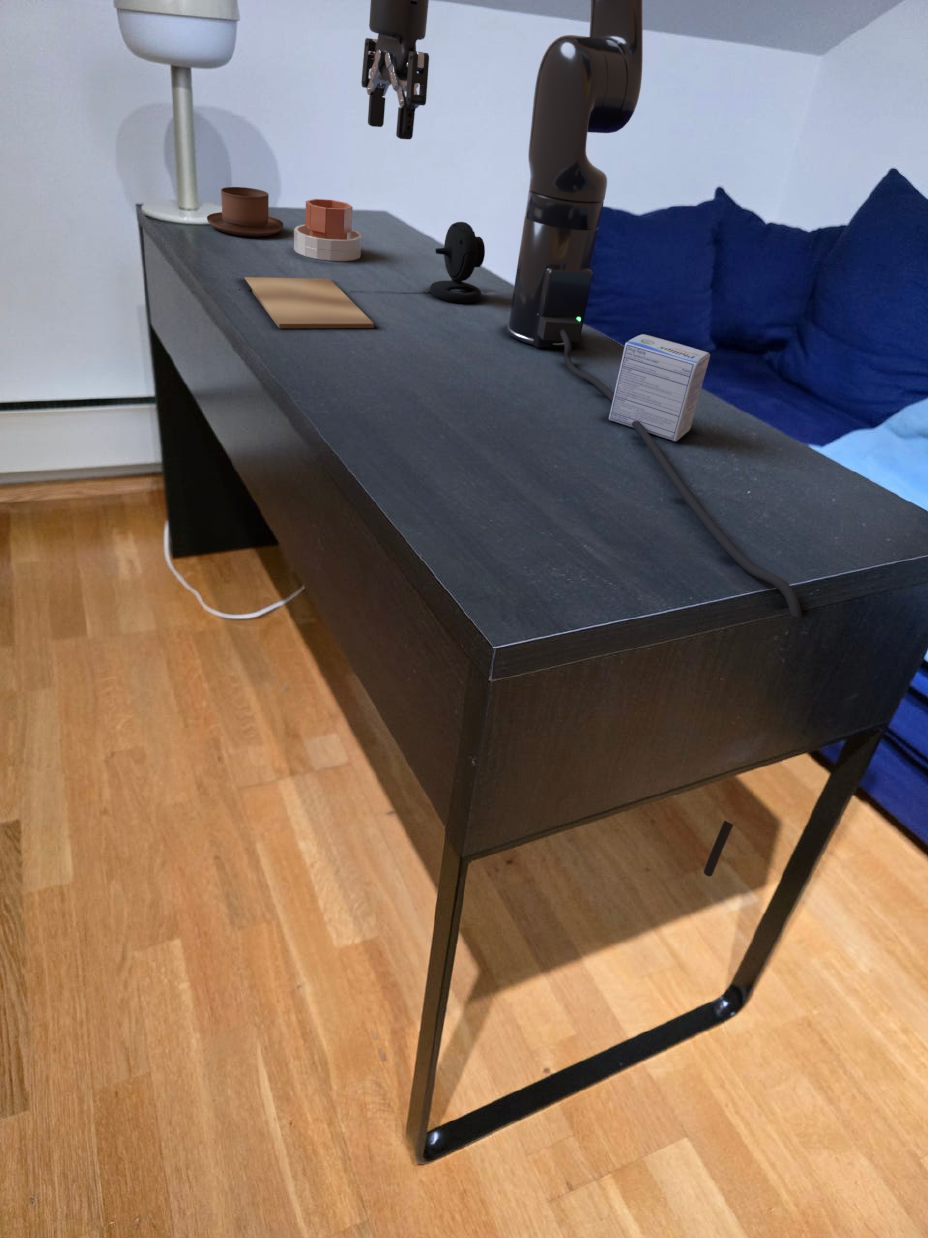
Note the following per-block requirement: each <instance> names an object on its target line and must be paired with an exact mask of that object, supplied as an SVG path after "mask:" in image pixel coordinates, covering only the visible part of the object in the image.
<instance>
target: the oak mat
mask: <svg viewBox="0 0 928 1238" xmlns="http://www.w3.org/2000/svg"><path fill="white" fill-rule="evenodd" d="M244 279H245V281H246V282H247V284H248V285H249V286H250V291H251V292H252V294H253V295H254V296H255V297H256V299H257V301H259V304H260V305H261V306H262V307H263V309H264V310H265V311H266V313H267V314H268V316H270V318H271V319H272V320H273V322H274V324H275V325H276V326H277V327H278V329H281V330H282V329H374V328H375V323H374V322H373V321H372V320H371V318H369V317H368V316H367V315H366V314H365V312H363V311H362V309H361V308H359V306H357V305H356V304H355V302H353V301H352V300H351V298H350V297H349V296H347V295H346V293H345V292H344V291H342V290H341V289H340V287H339V286H337V284H336V283H334V281H332V279H331V278H323V277H322V278H320V277H319V278H317V277H316V278H314V277H262V276H261V277H259V276H257V277H256V276H254V277H253V276H245V277H244Z"/></svg>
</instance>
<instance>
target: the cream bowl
mask: <svg viewBox="0 0 928 1238" xmlns="http://www.w3.org/2000/svg"><path fill="white" fill-rule="evenodd" d="M309 232H310V229H308V228H307V227H306V226H305V224H299V225H297V226H295V228H293V251H294V252H295V253H296V254H298V255H301V256H303V257H306V258H311V259H314V260H318V261H319V260H321V261H327V262H349V261H355V260H358V259H360V258H361V256H362V241H363V235H362V234H361V232H359V231H357V230H354V229H352V231H351V232H348V233H347V240H334V239H324V238H317V237H313V236H309Z"/></svg>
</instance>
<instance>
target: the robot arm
mask: <svg viewBox="0 0 928 1238" xmlns="http://www.w3.org/2000/svg"><path fill="white" fill-rule="evenodd" d="M429 2H430V0H370V7H369V24H368V27H369V30H370V32H372V33H375V34H378V35H377V38H371V37H366V38H365V39H364V47H363V58H362V70H361V71H362V72H361V82H360V83H361V87H362V88H365V89H366V93H367V95H368V96H369V97H368V99H369V100H368V113H367V124H368V126H370V127H373V128H382V127H383V126H384V123H385V110H386V109H385V108H386V97H385V96H386V94H387V92H388V90H389V87H390V86H391V87H392V89H393V91H394V92H396V95H397V96H396V97H397V99H398V105H399V106H398V107H397V108H398V109H397V122H396V131H395V132H396V134H395V136H396V137H397V138H398V139H400V140H411V139H412V138H413V136H414V135H413V134H414V125H415V115H416V109H418V108H419V107H420V106H426V103H427V94H428V83H429V82H428V81H429V66H430V55H429V53H428V52H424V51H417V41H422V40H424V39H425V38H426V34H427V23H428V13H429ZM643 29H644V28H643V0H589V32H588V34H589V36H585V35H575V34H566V35H562V36H559V37H557V38H556V39H554V40H553V41H552V42H551V44H549V46H548V47H547V49H546V51H545V52H544V54H543V56H542V58H541V60H540V63H539V67H538V71H537V74H536V78H535V79H536V80H535V85H534V93H533V101H532V113H531V123H530V131H529V132H530V134H529V143H528V153H527V155H528V157H527V158H528V168H529V176H530V177H529V186H528V193H527V200H526V207H525V213H524V219H523V225H522V233H521V239H520V244H519V245H520V246H519V252H518V259H517V266H516V273H515V278H514V284H513V285H514V286H513V293H512V299H511V306H510V313H509V320H508V324H507V328H506V332H507V334H508V335H509V336H510V337H512V338H514V339H516V340H517V341H520V342H523V343H526V344H529V345H533V346H534V347H535V348H539V349H544V348H545V349H548V348H549V349H550V348H554V349H555V348H558V349H559V348H564V353H563V360H564V364H565V366H566V368H567V369H568V370H570V372H572V373H573V374H575V375H576V376H577V377H578V378H580V379H582V380H584V381H586V382H587V383H589V384H591V385H593V386H594V387H595V388H596V389H598V391H600V392H601V394H603V395H604V396H605V397H606V398H607V399H608V400H609V401H610V402H611V403H612V402H613V398H614V393H615V392H613V391H612V390H611V389H610V388H609V387H608V386H607V385H605V384H604V383H603V382H602V381H601V380H600V379H599V378H597V377H595V375H591V374H590V373H587V372H585V371H582V370H580V369H579V368H577V367H576V365H574V363H573V361H572V357H571V356H572V348H579V347H580V341H581V336H582V333H583V332H582V331H583V326H584V322H585V315H586V312H587V306H588V301H589V295H590V291H591V287H592V286H591V285H592V280H593V275H594V273H593V271H592V264H593V259H594V254H595V248H596V244H597V238H598V233H599V227H600V225H601V224H600V223H601V219H602V213H603V208H604V203H605V198H606V195H607V194H606V192H607V187H608V177H607V175H606V173H605V172H604V171H603V170H601V169H599V168H598V167H596V166H594V165H593V164H592V162H591V161H590V159H589V158H588V155H587V140H588V133H590V134H591V133H593V134H594V133H595V134H596V133H597V134H612V133H616V132H618V131H620V130H622V129H623V128H624V127H625V126H626V125H627V124H628V123H630V120H631V118H632V117H633V115H634V114H635V110H636V108H637V106H638V102H639V99H640V93H641V89H642V80H643V58H644V57H643V50H644V49H643V44H644V42H643V37H644V36H643ZM418 88H419V89H418ZM417 89H418V90H417ZM632 426H633V427H634V428H633V429H634V430H635V431H636V433H637V434H638V435H639V437H640V438H641V440H643V442H644V443H645V445H646V446H647V447H648V450H650V452H651V453H652V455H653V456H654V458H655V460H656V461H657V462H658V464H659V466H660V467H661V468H662V470H663V471H664V474H665V475H666V476H667V477H668V479H669V480H670V482H671V483H672V484H673V486H674V487H675V489H676V490H677V492H678V493H679V494H680V496H681V498H682V499H683V500H684V502H685V503H686V504H687V506H688V507H689V508H690V510H691V511H692V512H693V514H694V515H695V517H696V518H697V519H698V520H699V521H700V523H701V524H702V525H703V526H704V528H705V529H706V530H707V531H708V532H709V534H710V535H711V536H712V537H713V539H714V540H715V541H716V542H717V544H718V545H719V546H720V547H721V549H723V550H724V552H725V553H726V554H727V555H728V556H729V557H730V558H731V559H732V560H733V561H734V562H735V563H736V564H737V565H738V566H739V567H740V568H741V569H742V570H743V571H745V572H746V573H747V574H749V575H750V576H751V577H754V578H756V579H758V580H760V581H761V582H764V583H765V584H766V583H767V584H769V585H770V586H772V587H773V588H775V589H776V590H777V591H779V592H780V593H781V595H782V596H783V597H784V598H785V601H786V603H787V607H788V609H789V610H788V611H789V614H790V615H791V616H793V617H795V618H798V619H801V618H802V617H803V613H802V608H801V605H800V602H799V598H798V596H797V594H796V592H795V591H794V589H793V588H792V586H791V585H790V584H789V583H788V582H787V581H786V580H785V579H783V578H781V577H780V576H779V575H776V574H774V573H773V572H770V571H768V570H765V569H763V568H762V567H759V566H758V565H756V564H755V563H753V562H752V561H751V560H750V559H749V558H748V557H746V555H744V554H743V553H742V552H741V551H740V550H739V549H738V548H737V547H736V546H735V545H734V543H732V541H731V540H730V539H729V538H728V537H727V536H726V535H725V533H724V532H723V531H722V530H721V529H720V528H719V527H718V525H717V524H716V523H715V522H714V521H713V519H712V518H711V516H709V515H708V513H707V512H706V511H705V509H704V508H703V507H702V506H701V505H700V504H699V502H698V501H697V500H696V498H695V497H694V496H693V494H692V493H691V492H690V490H689V488H688V487H687V486H686V485H685V483H684V482H683V481H682V479H681V477H680V476H679V475H678V474H677V472H676V471H675V469H674V467H673V466H672V465H671V463H670V462H669V461H668V459H667V458H666V456H665V455H664V453H663V452H662V450H661V449H660V447H659V446H658V445H657V443H656V441H654V439H653V437H652V436H651V435H650V433H648V432H647V431H646V430H645V428H644V427H643V426H642V424H641V423H640V422H638V421H633V422H632ZM733 827H734V824H733V823H731V822H728V821H727V820H724V821H723V823H722V825H721V827H720V830H719V831H718V834H717V837H716V839H715V841H714V844H713V846H712V849H711V851H710V854H709V856H708V858H707V862H706V864H705V866H704V869H703V874H704V876H706V877H712V876H713V875H714V872H715V870H716V867H717V864H718V862H719V859H720V857H721V854H722V852H723V850H724V848H725V846H726V842H727V841H728V838H729V836H730V834H731V831H732V829H733Z"/></svg>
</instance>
